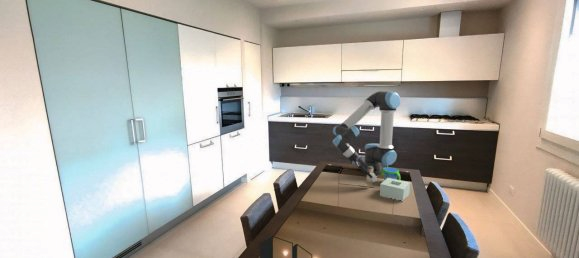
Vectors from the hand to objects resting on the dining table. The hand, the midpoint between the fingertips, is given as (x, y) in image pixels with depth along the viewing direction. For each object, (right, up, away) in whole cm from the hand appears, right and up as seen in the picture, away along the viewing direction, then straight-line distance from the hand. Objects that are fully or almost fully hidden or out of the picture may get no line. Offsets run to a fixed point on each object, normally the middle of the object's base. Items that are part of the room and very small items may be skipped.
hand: (375, 179), depth 174 cm
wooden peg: (-4, -3, +2) cm, 5 cm away
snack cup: (+14, -5, +11) cm, 19 cm away
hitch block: (+9, -8, -9) cm, 15 cm away
